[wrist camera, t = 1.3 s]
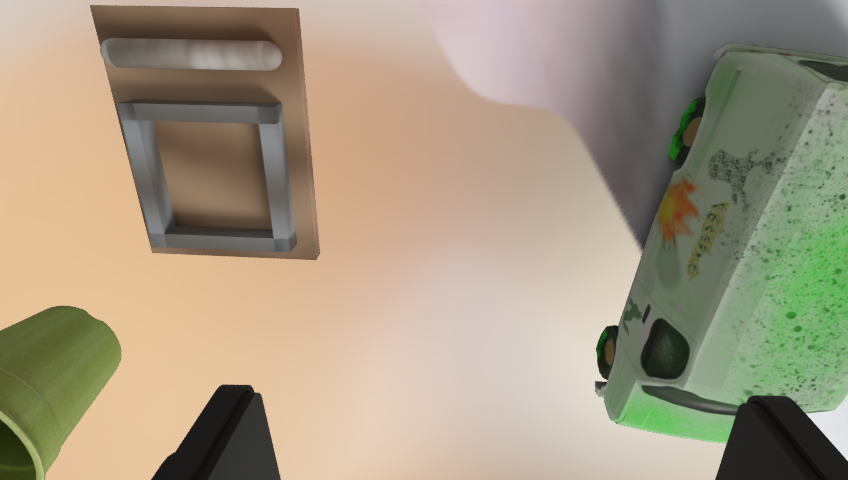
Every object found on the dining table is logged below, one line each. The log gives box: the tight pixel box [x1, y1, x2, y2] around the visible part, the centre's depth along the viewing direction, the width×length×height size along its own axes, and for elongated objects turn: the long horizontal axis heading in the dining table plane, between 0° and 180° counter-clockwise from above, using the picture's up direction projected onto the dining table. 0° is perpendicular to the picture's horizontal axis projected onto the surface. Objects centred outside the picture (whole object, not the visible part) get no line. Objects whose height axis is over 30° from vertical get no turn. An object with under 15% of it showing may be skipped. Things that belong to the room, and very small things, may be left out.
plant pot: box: [0, 306, 121, 480], centre depth 34 cm, size 12×12×11 cm
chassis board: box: [90, 5, 320, 260], centre depth 30 cm, size 16×12×3 cm
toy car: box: [595, 44, 848, 443], centre depth 28 cm, size 11×25×10 cm, turn 173°
